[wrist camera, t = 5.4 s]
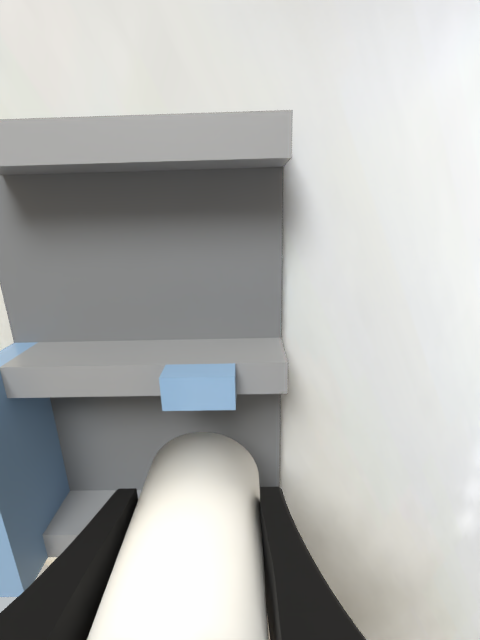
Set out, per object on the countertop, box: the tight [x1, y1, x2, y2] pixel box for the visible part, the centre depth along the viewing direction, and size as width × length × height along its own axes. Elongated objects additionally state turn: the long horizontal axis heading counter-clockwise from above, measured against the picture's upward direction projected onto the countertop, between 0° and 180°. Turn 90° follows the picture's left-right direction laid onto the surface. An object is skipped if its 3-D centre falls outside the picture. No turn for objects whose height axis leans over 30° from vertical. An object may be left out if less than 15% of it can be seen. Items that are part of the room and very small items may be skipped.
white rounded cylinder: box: [87, 432, 268, 640], centre depth 10 cm, size 4×4×6 cm
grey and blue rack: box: [0, 110, 293, 597], centre depth 13 cm, size 11×16×5 cm
